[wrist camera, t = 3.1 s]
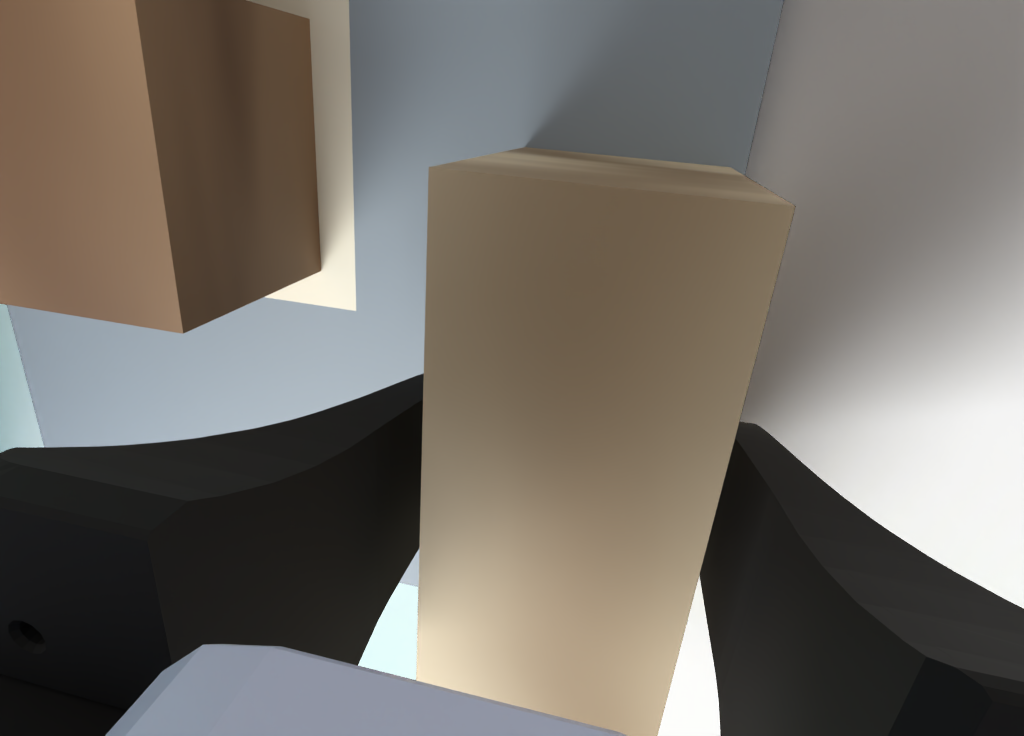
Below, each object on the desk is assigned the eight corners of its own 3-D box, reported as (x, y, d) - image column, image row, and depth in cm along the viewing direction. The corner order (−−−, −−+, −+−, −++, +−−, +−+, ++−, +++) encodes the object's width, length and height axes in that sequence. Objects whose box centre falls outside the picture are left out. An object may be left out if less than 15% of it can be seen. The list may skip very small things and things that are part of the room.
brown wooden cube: (129, 243, 13) (-72, 291, 9) (88, 3, 11) (-180, -52, 8) (321, 271, 12) (183, 334, 9) (309, 19, 11) (129, -35, 7)
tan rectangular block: (487, 586, 14) (413, 797, 10) (524, 147, 11) (428, 167, 6) (634, 619, 14) (625, 858, 9) (730, 166, 10) (795, 205, 5)
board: (69, 499, 17) (59, 505, 17) (-212, -602, 9) (-238, -623, 9) (641, 627, 14) (641, 637, 14) (950, -761, 6) (963, -800, 6)
